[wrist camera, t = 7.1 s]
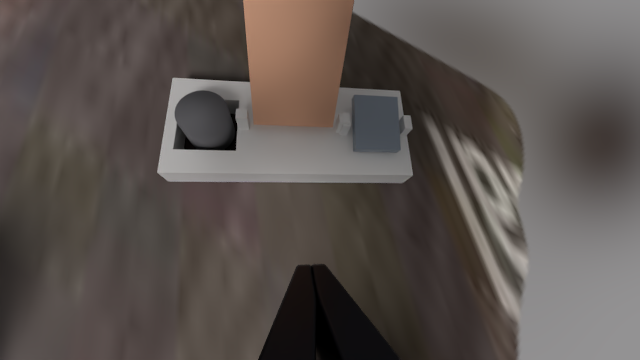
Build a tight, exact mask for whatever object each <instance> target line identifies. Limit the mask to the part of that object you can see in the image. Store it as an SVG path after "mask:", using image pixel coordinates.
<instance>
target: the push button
mask: <svg viewBox="0 0 640 360" xmlns="http://www.w3.org/2000/svg"><path fill="white" fill-rule="evenodd" d="M175 120H176V122H177V124H178V125H179V127H180V128H181V129H182V131H183V132H184V134H185V135H186V136H187V138H188V139H189V141H190V142H191V144H192V145H193V146H194V147H195V148H196V149H198V150H224V149H226V148H227V147H228V146H229V145H230V144H231V143H232V141H233V139H234V137H235V127H234V124H233V121H232V118H231V115H230V112H229V109H228V106H227V103H226V102H225V100H224V99H223V98H222V97H221V96H220V95H218V94H216V93H214V92H211V91H205V90H201V91H194V92H191V93H189V94H187V95H185V96H184V97H183V98H182V99H181V100H180V101H179V102H178V103H177V105H176V108H175Z"/></svg>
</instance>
